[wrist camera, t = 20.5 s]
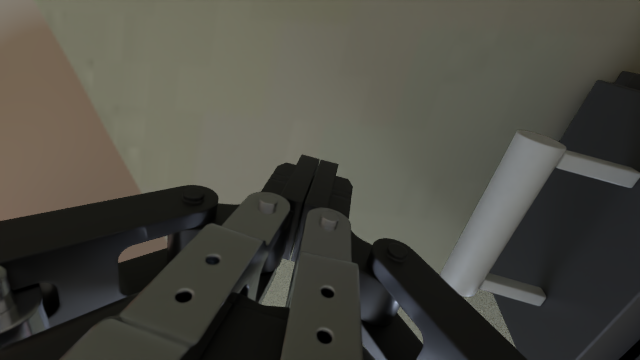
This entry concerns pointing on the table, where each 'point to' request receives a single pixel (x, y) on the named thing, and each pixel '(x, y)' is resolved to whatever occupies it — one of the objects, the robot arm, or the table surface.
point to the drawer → (563, 235)
